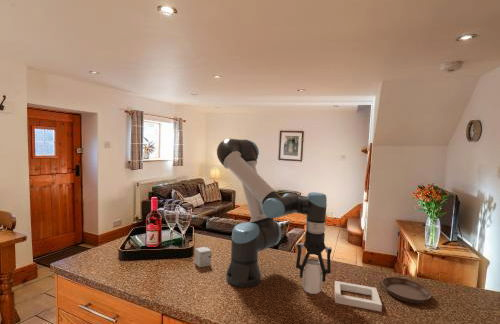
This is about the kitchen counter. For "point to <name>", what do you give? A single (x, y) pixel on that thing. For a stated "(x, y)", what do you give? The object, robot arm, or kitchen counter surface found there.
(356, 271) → the kitchen counter surface
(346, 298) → the socket collar
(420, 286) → the plant saucer
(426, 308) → the kitchen counter surface
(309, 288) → the can
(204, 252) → the skincare box
